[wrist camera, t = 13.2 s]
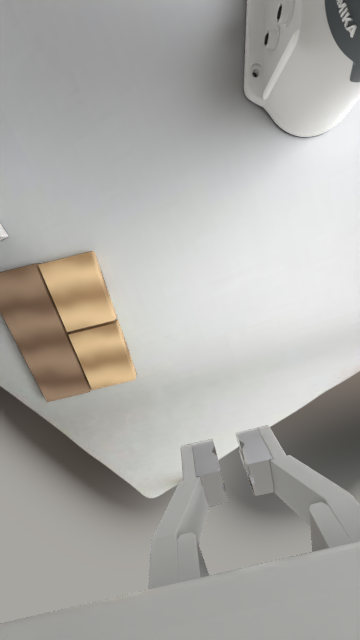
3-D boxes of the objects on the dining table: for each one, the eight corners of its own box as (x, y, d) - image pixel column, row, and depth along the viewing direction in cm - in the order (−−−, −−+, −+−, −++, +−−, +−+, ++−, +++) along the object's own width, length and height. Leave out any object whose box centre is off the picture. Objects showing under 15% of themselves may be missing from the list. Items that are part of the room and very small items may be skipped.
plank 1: (45, 263, 35) (38, 264, 33) (94, 251, 35) (89, 251, 33) (72, 327, 38) (67, 331, 36) (116, 316, 38) (114, 320, 36)
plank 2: (73, 330, 38) (68, 334, 36) (117, 319, 38) (115, 323, 36) (95, 383, 42) (92, 390, 40) (136, 373, 42) (135, 379, 40)
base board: (-8, 275, 35) (-18, 277, 33) (41, 263, 35) (34, 263, 33) (52, 395, 42) (47, 402, 40) (93, 385, 42) (89, 391, 40)
